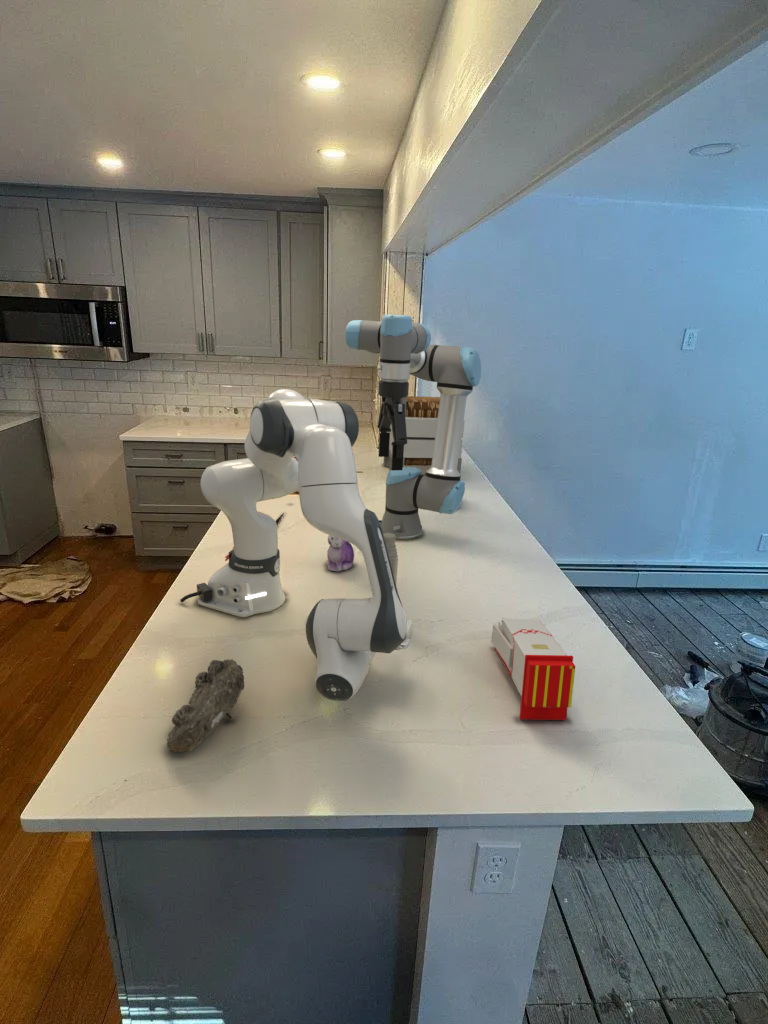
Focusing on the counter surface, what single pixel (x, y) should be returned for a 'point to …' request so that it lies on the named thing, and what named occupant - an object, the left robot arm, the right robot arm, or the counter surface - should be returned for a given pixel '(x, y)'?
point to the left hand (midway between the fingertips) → (373, 609)
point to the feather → (279, 518)
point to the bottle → (392, 552)
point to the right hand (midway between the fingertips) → (390, 463)
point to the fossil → (206, 705)
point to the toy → (535, 667)
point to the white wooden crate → (419, 432)
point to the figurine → (339, 554)
